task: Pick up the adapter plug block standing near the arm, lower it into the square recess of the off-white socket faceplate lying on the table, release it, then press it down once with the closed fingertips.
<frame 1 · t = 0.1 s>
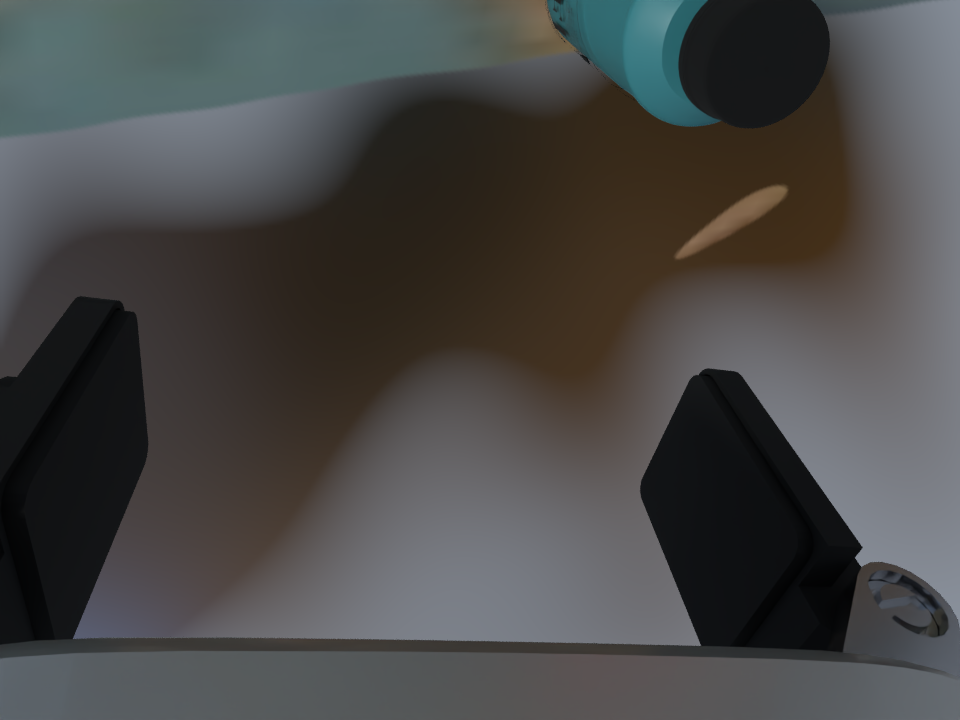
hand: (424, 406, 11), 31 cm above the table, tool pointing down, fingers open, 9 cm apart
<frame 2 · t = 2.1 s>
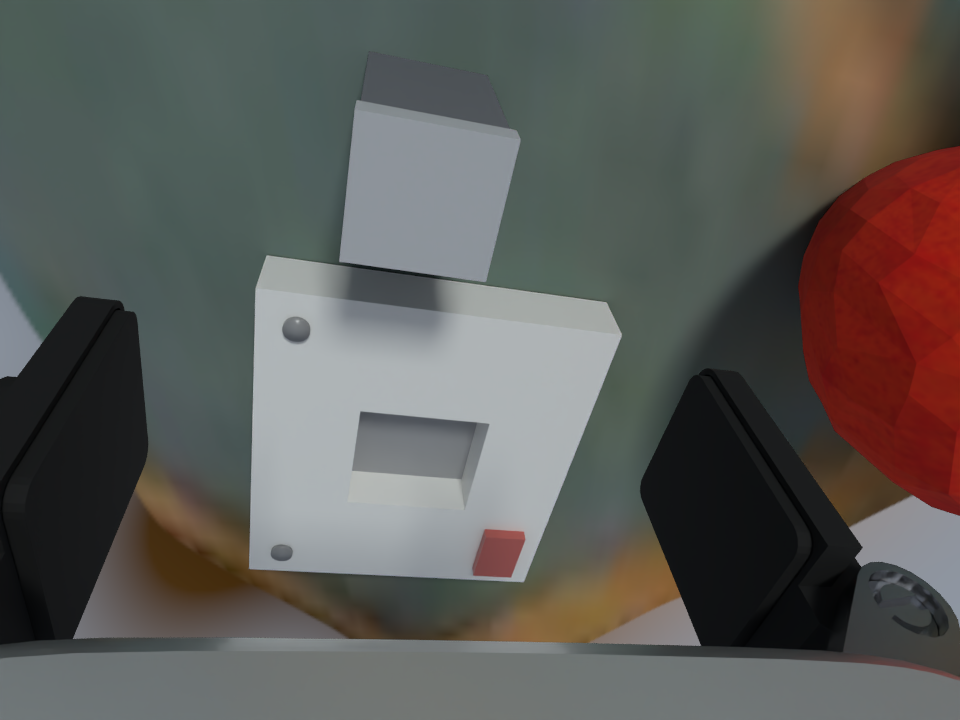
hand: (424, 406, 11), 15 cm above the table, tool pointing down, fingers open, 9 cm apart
plug: (419, 123, 24), on the table
socket plate: (415, 426, 32), on the table
apple: (866, 229, 28), on the table
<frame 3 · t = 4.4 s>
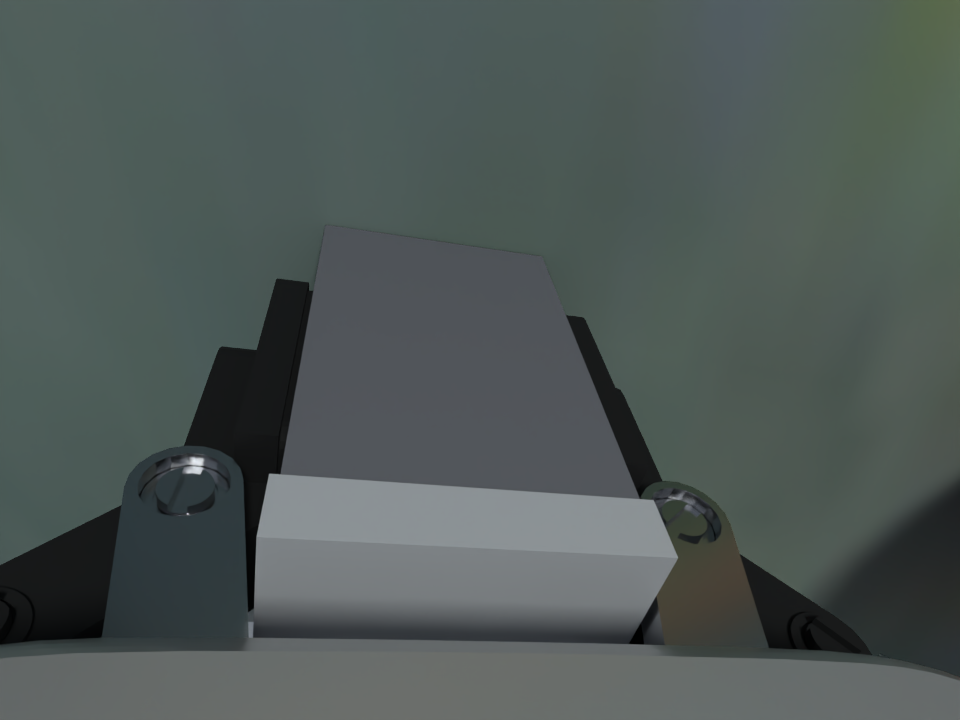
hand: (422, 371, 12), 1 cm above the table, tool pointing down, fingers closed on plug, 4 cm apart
plug: (420, 332, 13), on the table, touching gripper
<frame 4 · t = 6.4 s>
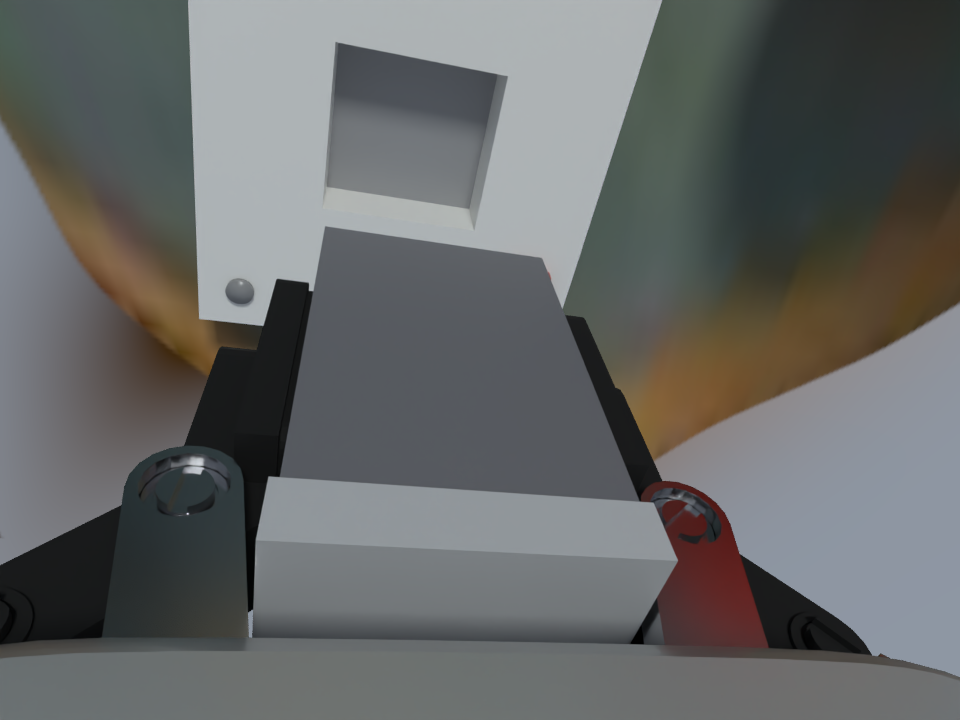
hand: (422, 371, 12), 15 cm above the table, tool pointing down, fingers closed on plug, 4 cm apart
plug: (419, 333, 13), point 14 cm above the table, touching gripper
socket plate: (409, 122, 25), on the table
when the fingers open (3 cm above the table, at t = 8.4 s): plug drops 1 cm, resting on socket plate.
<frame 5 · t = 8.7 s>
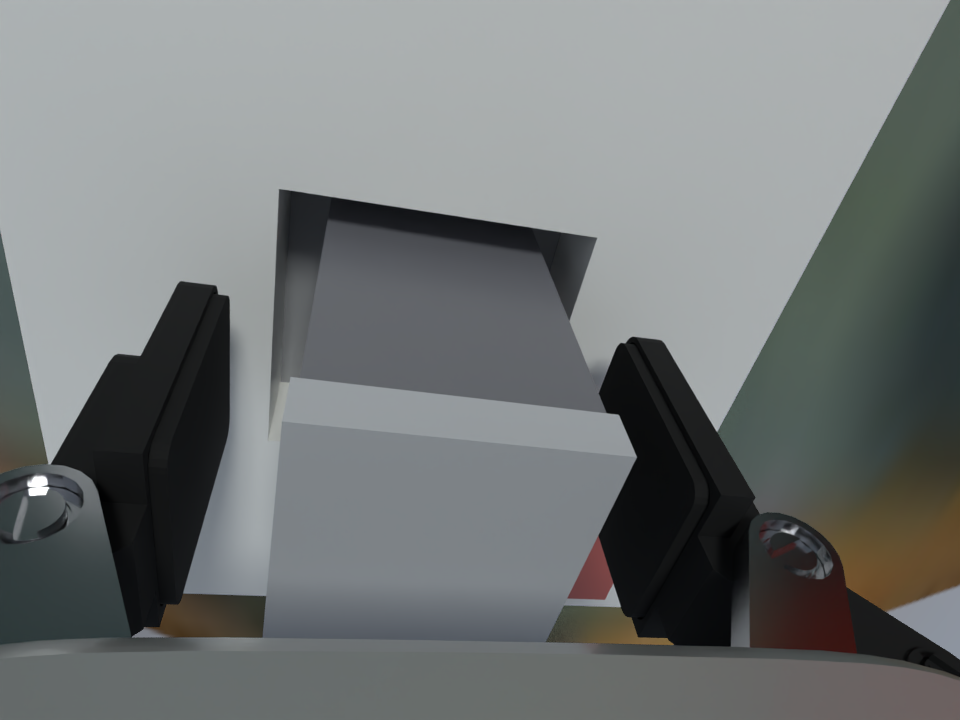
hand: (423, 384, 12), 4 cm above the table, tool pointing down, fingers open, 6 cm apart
plug: (416, 292, 15), resting on socket plate
socket plate: (416, 283, 15), on the table
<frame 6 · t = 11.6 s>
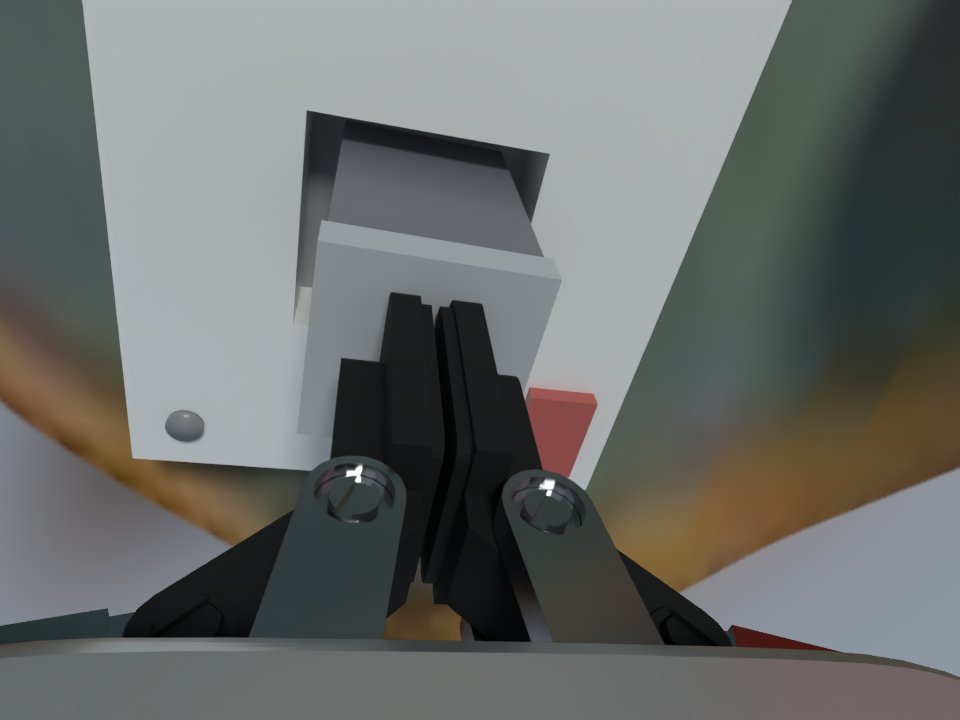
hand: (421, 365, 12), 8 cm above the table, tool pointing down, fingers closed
plug: (411, 209, 18), resting on socket plate, touching gripper
socket plate: (411, 203, 19), on the table
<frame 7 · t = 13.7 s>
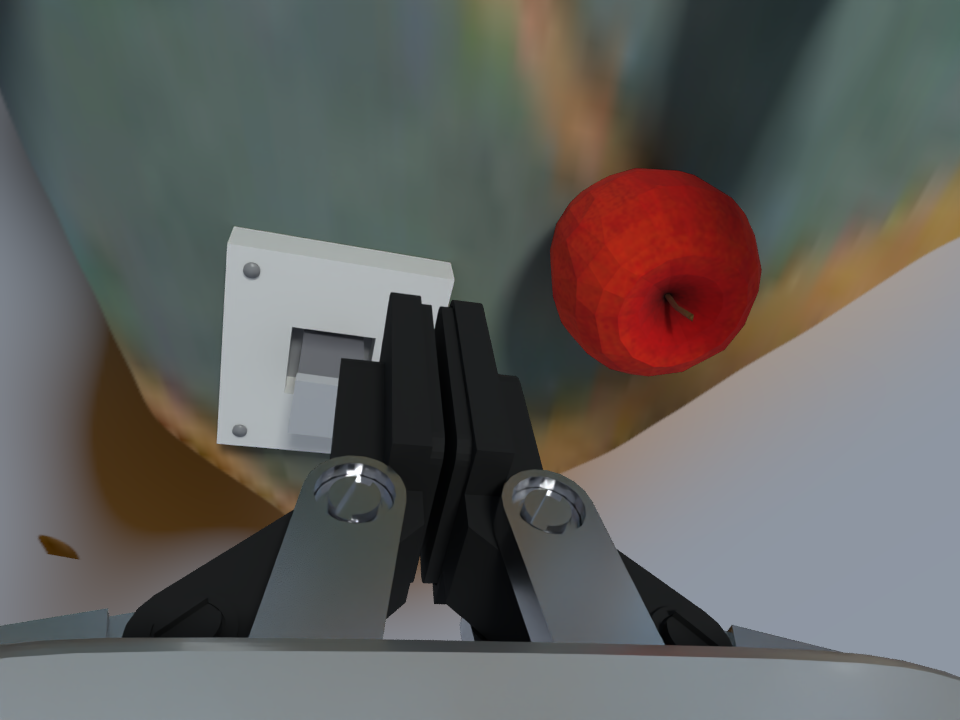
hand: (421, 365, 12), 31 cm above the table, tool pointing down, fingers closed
plug: (330, 349, 48), resting on socket plate
socket plate: (330, 346, 48), on the table
apple: (609, 219, 46), on the table
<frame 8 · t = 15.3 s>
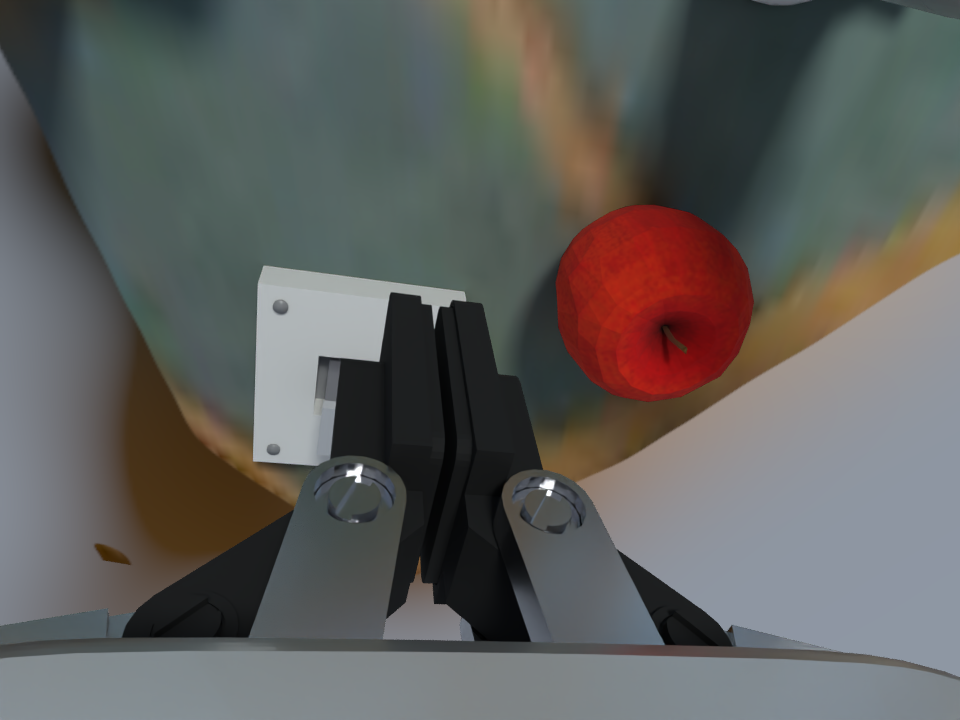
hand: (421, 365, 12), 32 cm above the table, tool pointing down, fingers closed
plug: (355, 373, 51), resting on socket plate
socket plate: (355, 369, 52), on the table
apple: (614, 247, 48), on the table
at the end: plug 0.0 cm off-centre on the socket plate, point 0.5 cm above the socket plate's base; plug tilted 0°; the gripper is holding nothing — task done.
